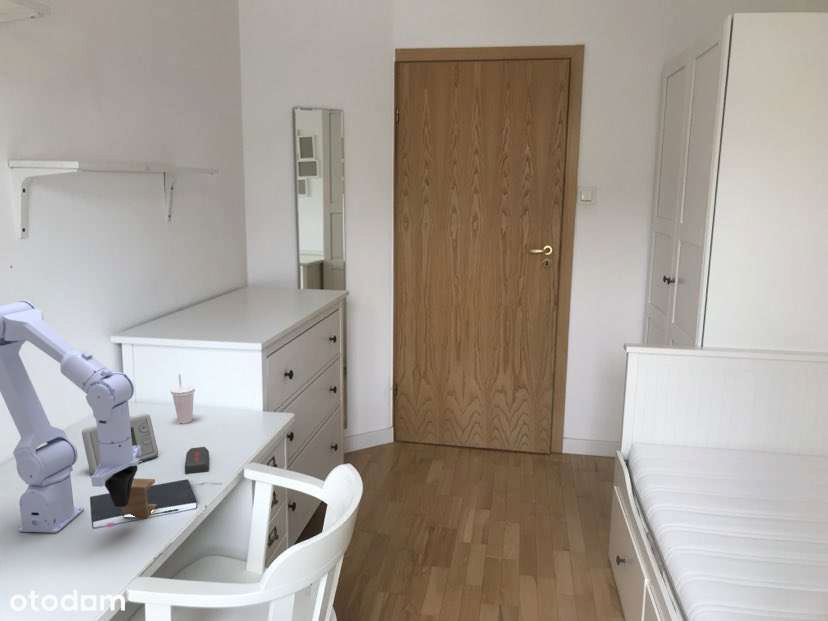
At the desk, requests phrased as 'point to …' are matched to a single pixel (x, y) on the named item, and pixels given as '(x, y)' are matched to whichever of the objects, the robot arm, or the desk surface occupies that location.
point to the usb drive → (197, 460)
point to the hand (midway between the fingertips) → (121, 505)
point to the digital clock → (140, 437)
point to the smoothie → (183, 402)
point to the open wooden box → (139, 499)
